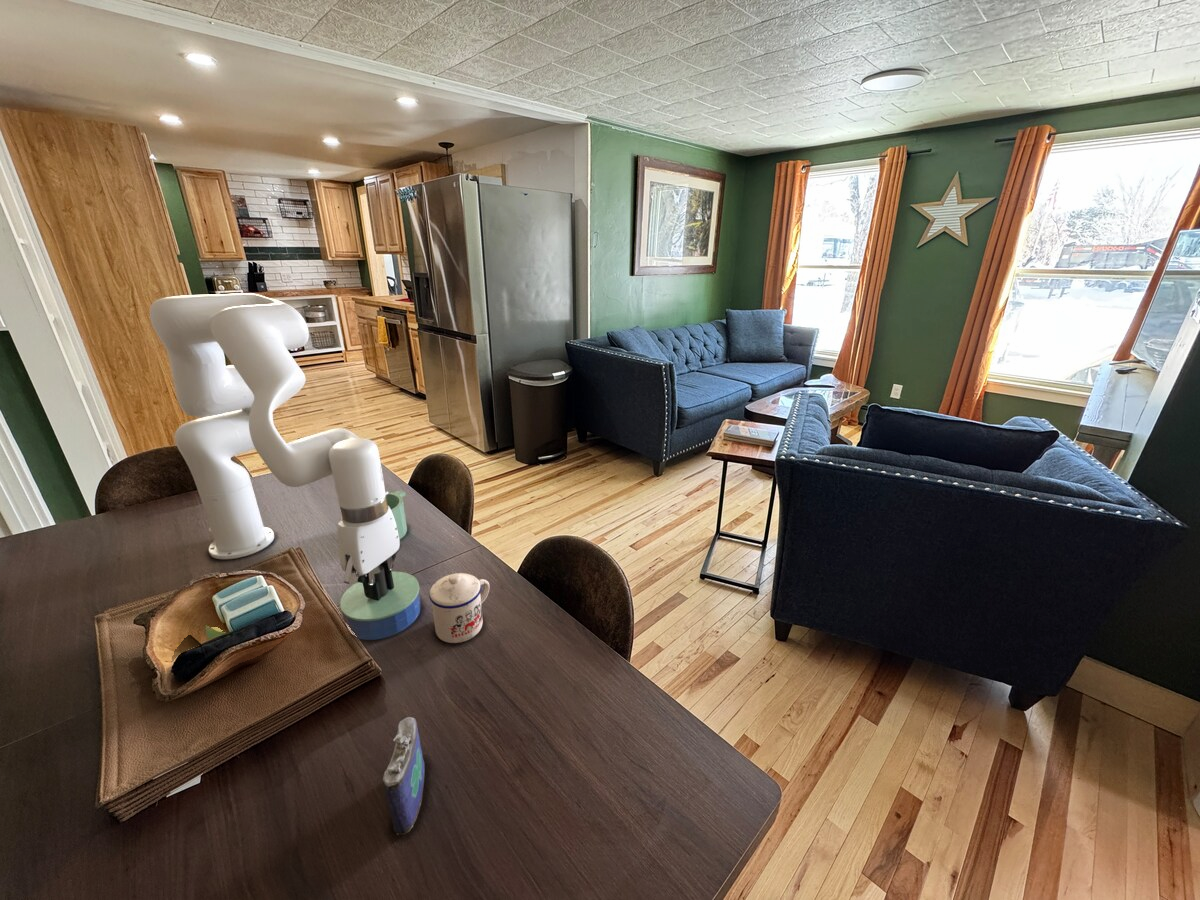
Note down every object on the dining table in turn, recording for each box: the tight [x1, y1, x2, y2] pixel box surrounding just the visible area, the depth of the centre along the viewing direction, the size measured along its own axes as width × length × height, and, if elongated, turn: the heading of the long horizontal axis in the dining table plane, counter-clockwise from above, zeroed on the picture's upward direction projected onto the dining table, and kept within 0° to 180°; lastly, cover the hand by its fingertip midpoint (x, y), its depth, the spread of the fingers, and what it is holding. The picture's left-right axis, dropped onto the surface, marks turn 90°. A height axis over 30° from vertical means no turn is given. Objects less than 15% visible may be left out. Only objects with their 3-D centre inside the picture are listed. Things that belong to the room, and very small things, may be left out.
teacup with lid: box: [428, 572, 491, 644], centre depth 88 cm, size 12×9×12 cm
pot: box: [386, 490, 408, 541], centre depth 116 cm, size 13×18×8 cm
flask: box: [382, 716, 426, 836], centre depth 59 cm, size 9×3×11 cm, turn 8°
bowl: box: [342, 592, 422, 641], centre depth 91 cm, size 13×13×4 cm
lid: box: [339, 566, 420, 621], centre depth 89 cm, size 14×14×7 cm
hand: (380, 592), depth 90 cm, fingers closed on lid, 2 cm apart
